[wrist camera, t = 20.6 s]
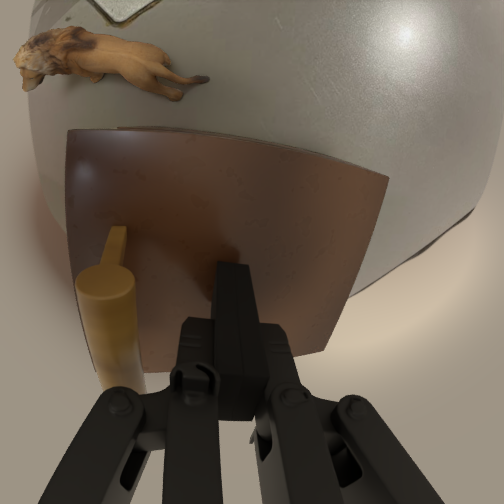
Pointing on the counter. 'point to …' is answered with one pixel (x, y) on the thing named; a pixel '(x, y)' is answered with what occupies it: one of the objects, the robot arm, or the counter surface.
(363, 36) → the counter surface
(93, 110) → the counter surface
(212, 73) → the counter surface
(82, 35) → the lion figurine
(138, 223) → the chest lid
